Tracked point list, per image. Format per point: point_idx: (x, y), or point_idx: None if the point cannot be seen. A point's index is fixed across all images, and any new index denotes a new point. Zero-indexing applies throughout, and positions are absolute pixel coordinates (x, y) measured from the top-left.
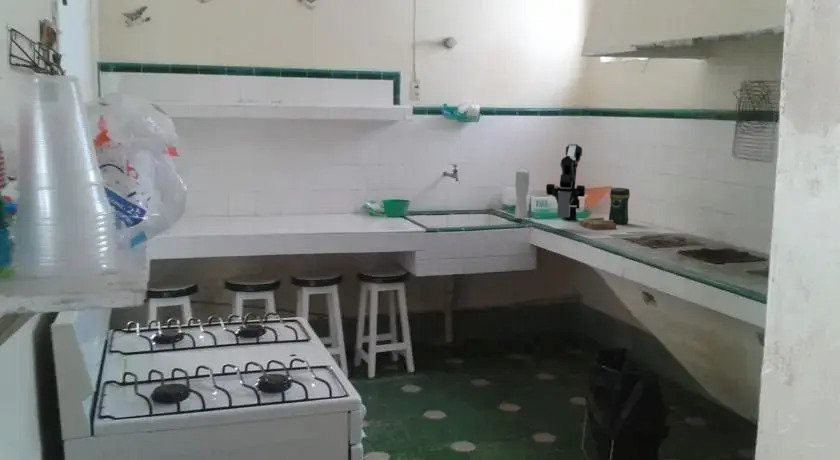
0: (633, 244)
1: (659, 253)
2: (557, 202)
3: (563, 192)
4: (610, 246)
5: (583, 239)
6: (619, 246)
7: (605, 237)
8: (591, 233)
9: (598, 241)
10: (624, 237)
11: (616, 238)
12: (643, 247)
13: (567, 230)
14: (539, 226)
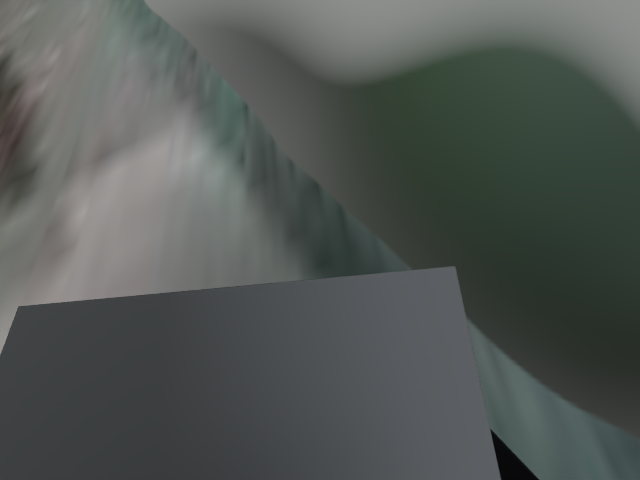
0: (39, 87)
1: (20, 10)
2: None
3: (235, 364)
4: (129, 20)
5: (211, 82)
6: (100, 34)
7: (104, 177)
8: (154, 268)
9: (154, 75)
10: (12, 223)
11: (60, 177)
12: (27, 58)
13: None
14: (610, 462)
